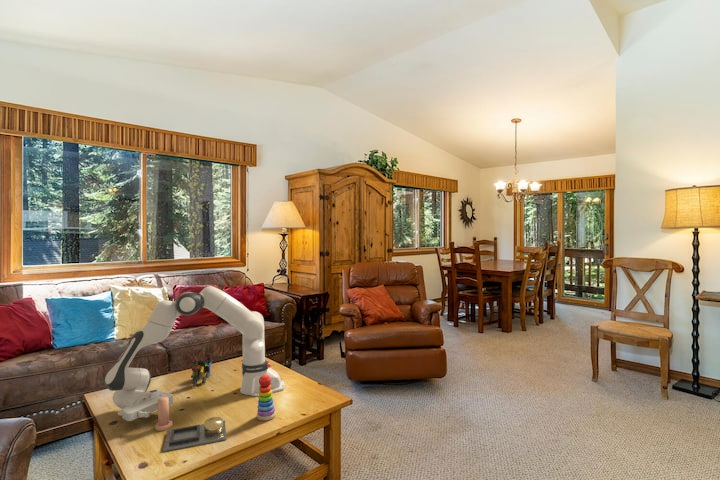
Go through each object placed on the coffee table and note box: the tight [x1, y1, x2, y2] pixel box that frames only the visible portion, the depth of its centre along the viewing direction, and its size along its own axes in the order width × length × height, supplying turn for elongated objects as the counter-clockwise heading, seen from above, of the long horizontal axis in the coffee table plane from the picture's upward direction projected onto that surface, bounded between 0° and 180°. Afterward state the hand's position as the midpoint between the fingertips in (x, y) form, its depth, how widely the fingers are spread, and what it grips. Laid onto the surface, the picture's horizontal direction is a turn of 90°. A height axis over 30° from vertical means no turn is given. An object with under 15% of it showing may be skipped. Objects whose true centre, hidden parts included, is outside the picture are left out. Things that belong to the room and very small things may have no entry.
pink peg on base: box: [154, 397, 173, 432], centre depth 161 cm, size 6×6×12 cm
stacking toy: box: [256, 375, 276, 421], centre depth 169 cm, size 8×8×19 cm
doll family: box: [190, 352, 214, 389], centre depth 210 cm, size 23×9×13 cm, turn 13°
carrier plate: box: [162, 416, 227, 452], centre depth 154 cm, size 22×14×5 cm, turn 111°
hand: (159, 410), depth 163 cm, fingers open, 8 cm apart
